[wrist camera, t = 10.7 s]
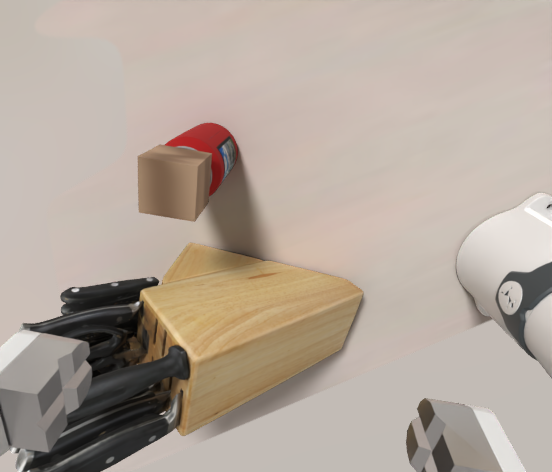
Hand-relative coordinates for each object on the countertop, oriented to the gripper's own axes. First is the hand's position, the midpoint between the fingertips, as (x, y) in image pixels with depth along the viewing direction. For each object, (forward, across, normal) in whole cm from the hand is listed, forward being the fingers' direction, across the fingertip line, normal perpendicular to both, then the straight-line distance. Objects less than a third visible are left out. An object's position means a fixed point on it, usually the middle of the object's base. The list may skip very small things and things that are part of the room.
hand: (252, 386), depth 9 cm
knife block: (+39, +5, +24) cm, 46 cm away
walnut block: (+27, +10, +4) cm, 29 cm away
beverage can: (+39, +10, +4) cm, 41 cm away
